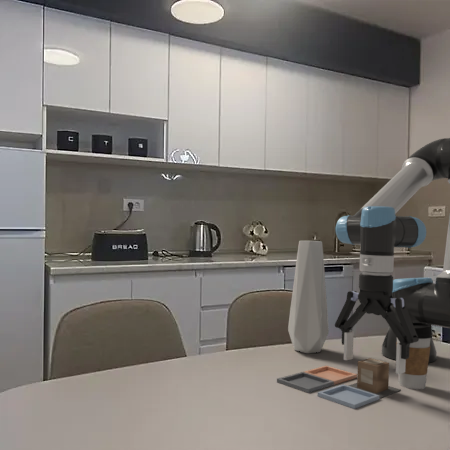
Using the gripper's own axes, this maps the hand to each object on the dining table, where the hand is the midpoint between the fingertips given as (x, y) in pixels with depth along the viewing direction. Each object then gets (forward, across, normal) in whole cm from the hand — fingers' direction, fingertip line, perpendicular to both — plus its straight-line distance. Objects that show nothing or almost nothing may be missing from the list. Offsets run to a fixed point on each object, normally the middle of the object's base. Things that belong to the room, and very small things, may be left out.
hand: (373, 366), depth 117 cm
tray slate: (+6, 0, -10) cm, 11 cm away
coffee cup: (+6, +4, +10) cm, 13 cm away
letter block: (+5, 0, 0) cm, 5 cm away
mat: (+6, 0, 0) cm, 6 cm away
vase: (+6, -33, +16) cm, 37 cm away
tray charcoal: (+6, -12, -10) cm, 16 cm away
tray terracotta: (+6, -12, 0) cm, 13 cm away
